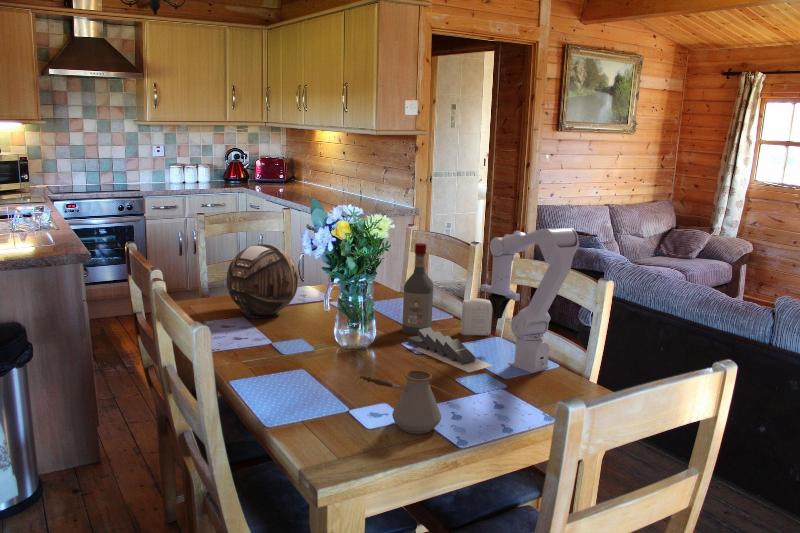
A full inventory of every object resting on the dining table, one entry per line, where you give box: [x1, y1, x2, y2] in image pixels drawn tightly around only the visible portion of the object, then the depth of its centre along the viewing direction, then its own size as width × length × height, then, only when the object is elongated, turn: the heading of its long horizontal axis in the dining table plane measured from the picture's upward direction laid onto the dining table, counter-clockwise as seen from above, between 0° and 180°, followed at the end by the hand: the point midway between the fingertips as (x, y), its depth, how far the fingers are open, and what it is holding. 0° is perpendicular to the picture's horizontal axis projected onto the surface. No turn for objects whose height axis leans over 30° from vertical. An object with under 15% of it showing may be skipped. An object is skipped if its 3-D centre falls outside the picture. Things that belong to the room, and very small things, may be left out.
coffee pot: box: [356, 369, 442, 435], centre depth 160 cm, size 21×12×15 cm, turn 120°
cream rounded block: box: [460, 297, 493, 336], centre depth 234 cm, size 10×4×12 cm, turn 98°
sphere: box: [226, 243, 300, 316], centre depth 247 cm, size 25×25×25 cm
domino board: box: [414, 347, 494, 373], centre depth 211 cm, size 24×10×1 cm, turn 39°
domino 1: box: [407, 335, 431, 350], centre depth 221 cm, size 2×5×9 cm
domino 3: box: [425, 330, 447, 357], centre depth 215 cm, size 2×5×9 cm
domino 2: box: [417, 326, 438, 353], centre depth 218 cm, size 2×5×9 cm
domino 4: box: [435, 335, 457, 361], centre depth 212 cm, size 2×5×9 cm
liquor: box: [401, 242, 434, 336], centre depth 233 cm, size 9×9×30 cm
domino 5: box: [444, 338, 477, 365], centre depth 209 cm, size 2×5×9 cm
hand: (498, 317), depth 218 cm, fingers closed
